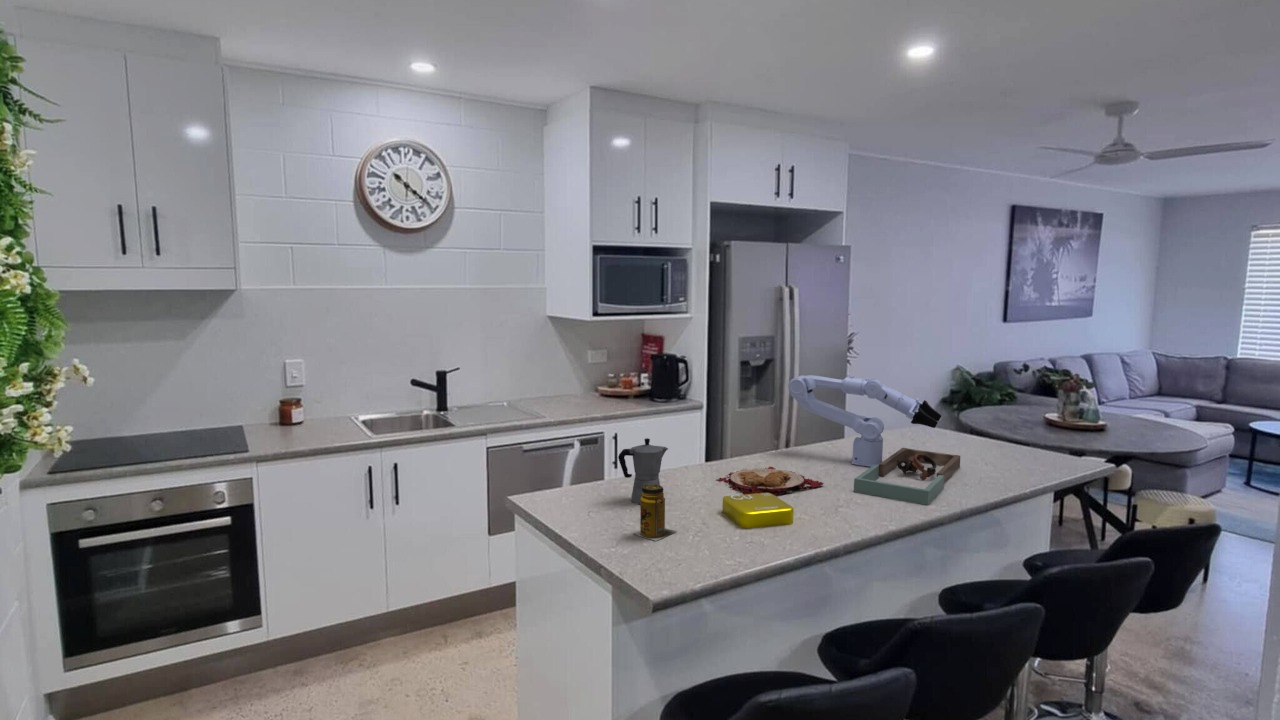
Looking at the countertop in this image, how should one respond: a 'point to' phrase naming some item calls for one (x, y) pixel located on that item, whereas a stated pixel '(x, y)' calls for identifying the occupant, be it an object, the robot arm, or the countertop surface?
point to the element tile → (757, 510)
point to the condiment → (653, 513)
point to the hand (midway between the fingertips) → (938, 421)
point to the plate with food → (768, 481)
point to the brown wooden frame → (922, 461)
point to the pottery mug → (917, 465)
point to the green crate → (896, 488)
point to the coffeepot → (643, 466)
